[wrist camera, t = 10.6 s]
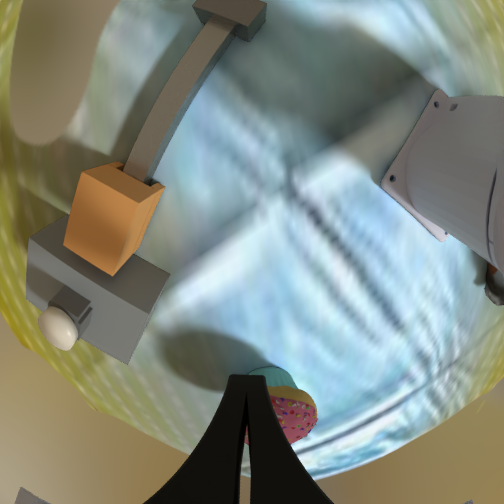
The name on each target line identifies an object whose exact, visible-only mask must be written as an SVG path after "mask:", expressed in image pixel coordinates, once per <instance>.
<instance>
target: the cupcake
mask: <svg viewBox="0 0 504 504" xmlns="http://www.w3.org/2000/svg"><path fill="white" fill-rule="evenodd" d="M248 375H264V376H265V377H266V383H267V388H268V392H269V396H270V399H271V402H272V405H273V408H274V411H275V413H276V415H277V418H278V420H279V423H280V425H281V427H282V429H283V432H284V434H285V436H286V438H287V440H288V441H289V443H290V445H291V444H292V443H294V442H296V441H298V440H300V439H302V438H303V437H306V436H307V434H308V433H309V432H310V431H311V429H312V428H313V427H314V425H316V422H317V420H318V418H317V408H316V405H315V403H314V401H313V399H312V398H311V396H310V395H309V394H308V393H306V392H305V391H303V390H300V389H298V387H297V386H296V384H295V382H294V381H293V379H292V377H291V375H290V374H289V373H288V372H287V371H285V370H283V369H280V368H275V367H264V368H259V369H256V370H254V371H252V372H250V373H249V374H248ZM316 426H317V425H316ZM245 443H246V444H247V445H249V443H248V430H247V428H246V435H245Z"/></svg>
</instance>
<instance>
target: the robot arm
mask: <svg viewBox="0 0 504 504" xmlns="http://www.w3.org/2000/svg"><path fill="white" fill-rule="evenodd" d="M434 102H435V103H436V107H435V106H434ZM391 175H393V177H394V179H393V181H390V176H391ZM381 187H382V188H383V190H385V191H386V192H387V193H388V194H389V195H391V196H392V197H393V198H394V199H395V200H396V201H397V202H399V203H400V204H401V205H402V206H403V207H404V208H405V209H406V210H407V211H409V212H410V213H411V214H412V215H413V216H414V217H415V218H416V219H417V220H418V221H419V222H420V223H421V224H422V225H423V226H424V227H425V228H426V229H427V230H428V231H430V232H431V233H432V234H433V235H434V237H435V238H436V239H437V240H439V241H440V242H444V241H445V240H446V239H447V237H448V236H449V234H450V235H452V236H453V237H455V238H456V239H458V240H459V241H461V242H462V243H463V244H465V245H466V246H468V247H469V248H471V249H472V250H473V251H475V252H476V253H477V254H479V255H480V256H481V257H483V258H484V259H485V260H487V261H488V262H489V263H491V264H492V265H493V266H494V267H496V268H497V269H498V270H500V271H501V272H502V274H503V276H504V97H503V96H460V97H448V96H447V95H446V94H445V93H444V91H442V90H440V89H439V90H435V92H434V93H433V95H432V97H431V99H430V101H429V103H428V104H427V106H426V108H425V110H424V112H423V113H422V115H421V117H420V119H419V120H418V122H417V124H416V125H415V127H414V129H413V131H412V132H411V134H410V136H409V137H408V139H407V141H406V142H405V144H404V146H403V147H402V149H401V150H400V152H399V154H398V155H397V157H396V158H395V160H394V162H393V163H392V165H391V166H390V168H389V169H388V171H387V173H386V174H385V176H384V177H383V179H382V181H381ZM445 231H446V232H445ZM444 232H445V233H444ZM246 428H247V430H248V443H249V455H250V468H251V491H250V504H334V503H333V502H332V501H331V500H330V499H329V498H328V497H327V496H326V494H325V493H324V492H323V491H322V490H321V489H320V488H319V486H318V485H317V484H316V482H315V481H314V480H313V479H312V477H311V476H310V475H309V473H308V472H307V471H306V469H305V468H304V466H303V465H302V463H301V462H300V460H299V459H298V457H297V455H296V454H295V452H294V450H293V449H292V447H291V445H290V443H289V441H288V440H287V438H286V436H285V434H284V432H283V429H282V427H281V425H280V423H279V420H278V418H277V415H276V413H275V411H274V408H273V405H272V402H271V399H270V396H269V392H268V388H267V383H266V377H265V376H264V375H237V374H232V375H230V376H229V379H228V383H227V387H226V390H225V392H224V395H223V398H222V400H221V402H220V405H219V407H218V409H217V411H216V413H215V415H214V417H213V419H212V421H211V423H210V425H209V426H208V428H207V430H206V432H205V433H204V435H203V437H202V438H201V440H200V442H199V443H198V445H197V446H196V448H195V449H194V450H193V452H192V453H191V455H190V456H189V457H188V459H187V460H186V461H185V462H184V464H183V465H182V466H181V467H180V469H179V470H178V471H177V472H176V473H175V474H174V475H173V476H172V478H171V479H170V480H169V481H168V482H167V483H166V484H165V485H164V486H163V487H162V488H161V489H160V490H159V491H157V492H156V493H155V494H154V495H153V496H152V497H151V498H149V499H148V500H147V501H146V502H144V503H143V504H239V498H240V473H241V464H242V457H243V450H244V443H245V435H246ZM15 504H50V503H48V502H46V501H45V500H42V499H40V498H38V497H37V496H35V495H33V494H32V493H30V492H29V491H27V490H26V489H24V488H22V487H21V488H20V490H19V492H18V495H17V498H16V501H15ZM464 504H473V501H472V500H469V501H467V502H465V503H464Z"/></svg>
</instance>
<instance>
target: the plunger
mask: <svg viewBox="0 0 504 504" xmlns="http://www.w3.org/2000/svg"><path fill="white" fill-rule="evenodd" d="M73 321H74V320H72V319H71V318H70V317H69V316H68V315H67V314H66V313H65V312H64V311H62V310H61V309H59V308H57V307H53V306H50V307H48V308H47V309H46V310H45V311H44V312H43V313H42V314H41V315H40V316H39V318H38V325H39V328H40V330H41V332H42V334H43V335H44V336H45V338H46V339H47V340H48V341H49V342H50V343H51V344H52V345H54V346H55V347H57V348H59V349H61V350H69V349H70V348H71V347H72V346H73V344H74V343H75V341H76V340H77V338H78V330H77V328H76V326H75V324H74V322H73Z"/></svg>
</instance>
